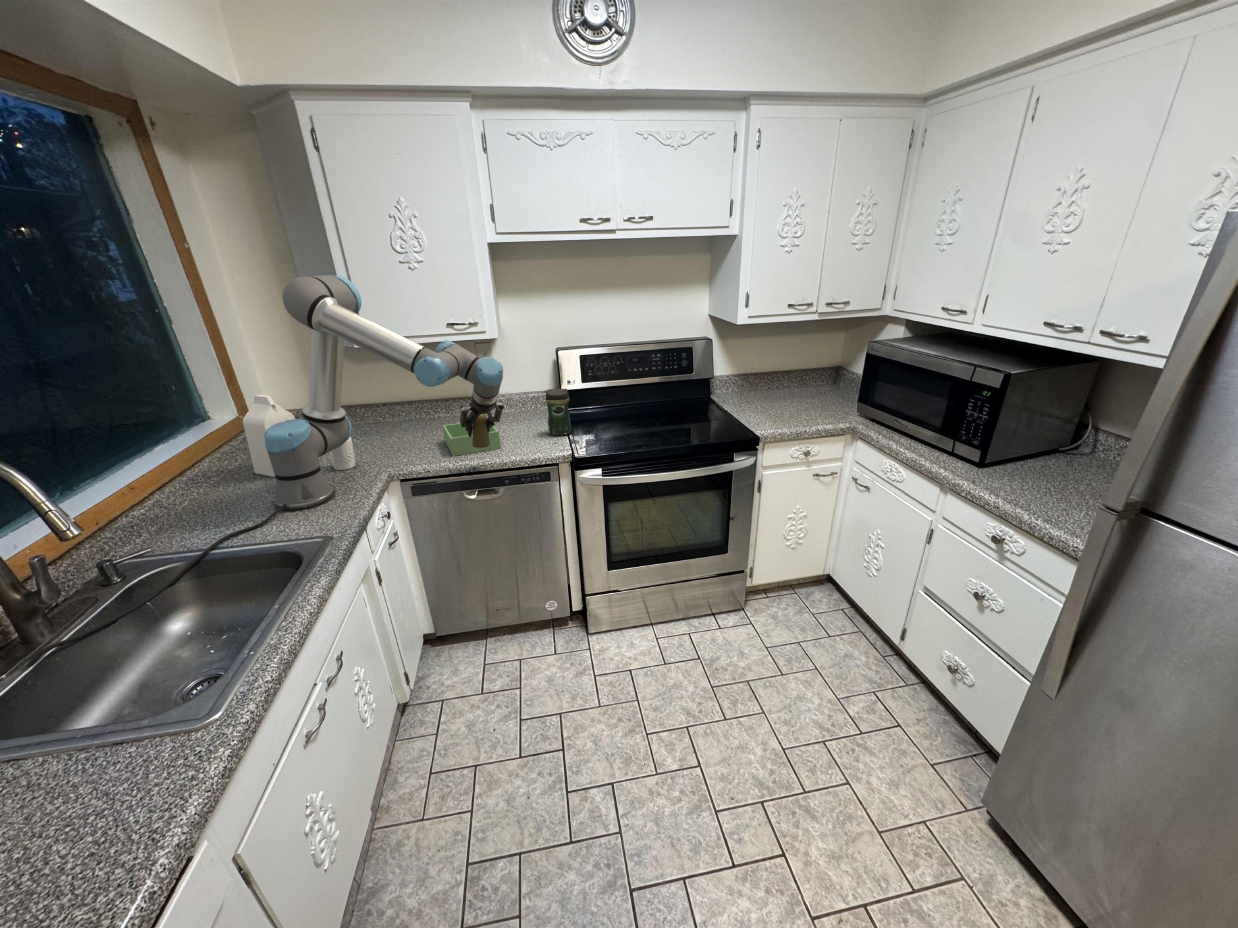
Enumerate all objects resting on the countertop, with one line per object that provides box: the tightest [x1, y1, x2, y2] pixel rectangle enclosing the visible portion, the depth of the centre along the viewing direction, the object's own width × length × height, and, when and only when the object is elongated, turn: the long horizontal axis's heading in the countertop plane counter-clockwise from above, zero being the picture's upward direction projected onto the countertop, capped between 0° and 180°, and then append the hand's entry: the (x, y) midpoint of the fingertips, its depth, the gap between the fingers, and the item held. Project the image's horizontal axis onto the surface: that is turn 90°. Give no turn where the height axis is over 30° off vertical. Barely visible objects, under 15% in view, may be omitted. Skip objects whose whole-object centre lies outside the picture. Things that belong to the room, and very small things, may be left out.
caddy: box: [442, 422, 501, 457], centre depth 194 cm, size 18×18×7 cm
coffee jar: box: [544, 388, 572, 437], centre depth 203 cm, size 10×8×19 cm
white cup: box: [328, 436, 356, 471], centre depth 174 cm, size 8×8×10 cm
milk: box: [242, 394, 296, 478], centre depth 169 cm, size 12×12×26 cm
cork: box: [472, 414, 491, 448], centre depth 168 cm, size 6×6×11 cm
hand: (477, 431), depth 172 cm, fingers closed on cork, 5 cm apart
